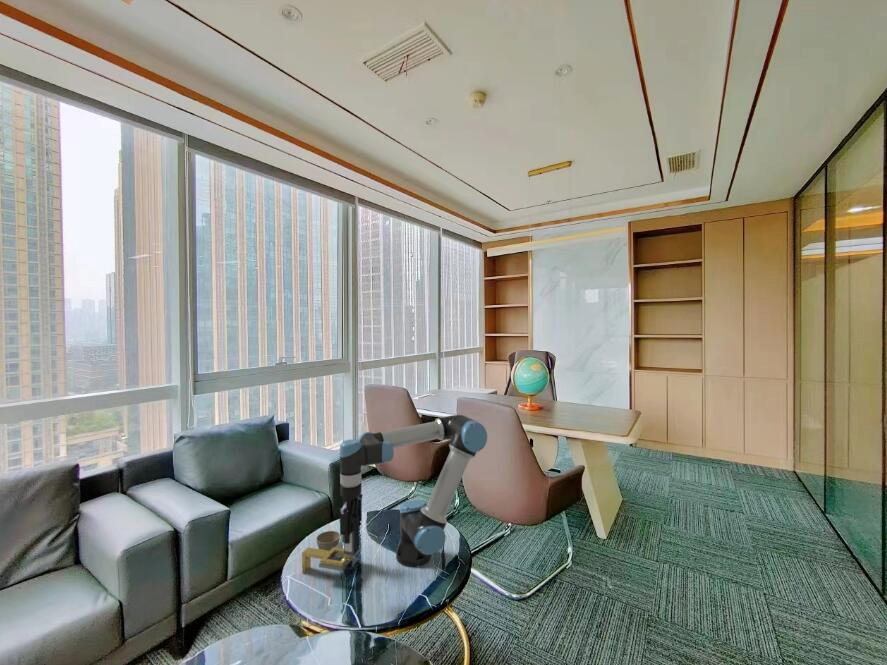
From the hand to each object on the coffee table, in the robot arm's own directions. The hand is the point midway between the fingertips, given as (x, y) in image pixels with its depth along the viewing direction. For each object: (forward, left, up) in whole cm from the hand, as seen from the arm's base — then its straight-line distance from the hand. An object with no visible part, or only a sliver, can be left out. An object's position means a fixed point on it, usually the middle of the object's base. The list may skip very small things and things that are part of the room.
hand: (351, 546), depth 140 cm
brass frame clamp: (+16, -12, -18) cm, 27 cm away
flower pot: (+23, -22, -18) cm, 37 cm away
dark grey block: (0, 0, -2) cm, 2 cm away
